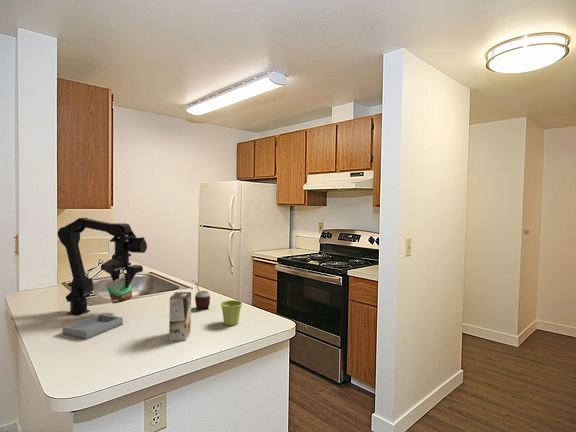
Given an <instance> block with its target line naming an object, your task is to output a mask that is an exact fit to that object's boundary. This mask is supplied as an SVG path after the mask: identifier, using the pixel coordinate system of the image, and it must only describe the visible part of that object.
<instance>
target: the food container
mask: <svg viewBox="0 0 576 432" xmlns="http://www.w3.org/2000/svg"><path fill="white" fill-rule="evenodd" d="M131 283H132V282H131ZM131 283H130V285H129V287H128V288H126V280H125V275H123V276H122V277H119V279H116V280H114V281H113V280H112V281H108V282H105V288H107V290H108V294H109V297H110V299H111V300H110V301H111V303H112V304H119V303H123V302H127V301H128V300H130V299H132V298H133V294H132V284H131Z"/></svg>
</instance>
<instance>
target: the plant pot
mask: <svg viewBox="0 0 576 432" xmlns="http://www.w3.org/2000/svg"><path fill="white" fill-rule="evenodd" d="M219 305H220V307H221V310H222V318H223V323H224V325H226V326H232V325H234V326H236V325H238V324H239V321H240V315H241V308H242V305H243V302H242V301H241V300H225V301H222V302H220V304H219Z"/></svg>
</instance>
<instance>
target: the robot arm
mask: <svg viewBox="0 0 576 432" xmlns="http://www.w3.org/2000/svg"><path fill="white" fill-rule="evenodd" d="M85 229H90V230H96V231H101V232H105V233H108V234H109V235H111V236H112V238H111V239H110V240H109V242H110V243H112V242H113V243H114V254H112V255H111V258H110V259H108V260H106V261H105V262H103V263H101V265H100V270H101V271H104V272H105V273H106V274H109V276H110V277H111V280H112V282H113V281H114V280H116V279H119V278H120V275H121V271H125V272H123V273H122V275H123V276H125V280H126V288H128V287H129V285H130V283H132V281H133V279H134V278H135V276H136V274H139V273H143V271H144V267H143V265H142V264H132V262H130V257H131V256H132V254H133V253H137V254H139V253H140V254H145V253H146V251H147V248H148V244H147V241H146V240H145V237H143V236H141V237H137V236H136V234H135V232H134V231H133V230H132V227H131V225H130V224H129V223H127V222H126V223H124V222H123V223H121V222H113V223H111V222H107V221H102V220H97V219H94V218H93V219H92V218H88V217H79V218H76V220H74V221H73V222H71V223H69V224H67V225H65V226H62V227H60V228H59V229H58V231H57V237H58V239H59V242H60V243H61V244H62V246H64V247H65V250H66V254H67V258H68V262H69V266H70V267H69V268H70V271H71V272H70V273H71V275H72V281H71V285H70V288H71V289H70V290H71V291H70V292H69V293H68V294H67V295H66V296H65V300H66V302H68V303H70V305H69V306H70V307H69V309H70V311H68V312H66V314H68V315H71V316H72V315H73V316H80V315H83V314H86V313H88V312H90V309H88V302H87V301H88V300H87V299H88V298H90V296H91V294H92V292H93V291H94V286H95V285H94V283H93V278H92V277H88V276H87V275H86V272H85V268H84V263H83V259H82V255H81V251H80V247H79V244H80V240H81V234H82V232H84V231H85ZM131 253H132V254H131Z"/></svg>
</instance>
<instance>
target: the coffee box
mask: <svg viewBox="0 0 576 432" xmlns="http://www.w3.org/2000/svg"><path fill="white" fill-rule="evenodd" d="M191 322H192V292H191V291H176V292H175V293H173V294H172V295H171V296H170V297H169V324H168V325H169V326H168V328H169V329H168V330H169V331H168V340H169V341H170V342H171V341H187V339H188V337H189V335H190V333H191V332H192V329H191V327H192V326H191V325H192V323H191Z"/></svg>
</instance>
